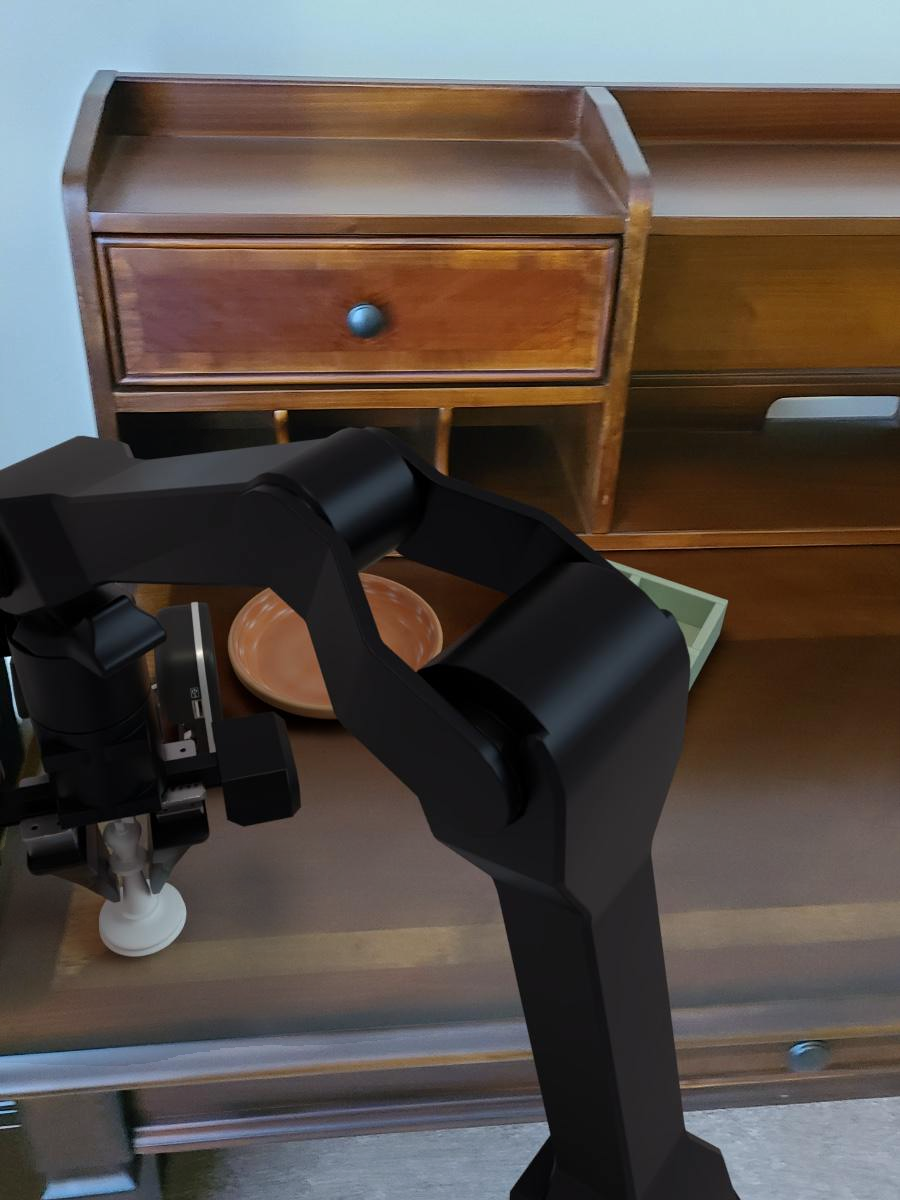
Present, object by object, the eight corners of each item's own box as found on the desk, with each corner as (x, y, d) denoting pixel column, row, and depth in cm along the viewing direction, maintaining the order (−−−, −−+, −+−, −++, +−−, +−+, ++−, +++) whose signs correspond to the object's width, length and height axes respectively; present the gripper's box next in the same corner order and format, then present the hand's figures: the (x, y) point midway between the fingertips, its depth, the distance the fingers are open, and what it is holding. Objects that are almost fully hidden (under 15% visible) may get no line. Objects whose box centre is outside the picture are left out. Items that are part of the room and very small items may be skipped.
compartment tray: (621, 817, 71) (629, 781, 69) (427, 734, 76) (428, 698, 74) (719, 634, 86) (728, 600, 84) (552, 576, 91) (556, 542, 89)
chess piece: (176, 958, 60) (152, 845, 54) (89, 955, 60) (55, 841, 54) (194, 886, 64) (173, 772, 58) (111, 883, 64) (82, 769, 58)
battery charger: (168, 721, 76) (146, 596, 69) (223, 713, 77) (206, 589, 70) (173, 795, 71) (150, 667, 64) (231, 786, 72) (215, 659, 64)
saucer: (298, 577, 90) (296, 548, 88) (473, 631, 85) (475, 602, 83) (188, 696, 78) (183, 665, 76) (384, 767, 74) (384, 736, 72)
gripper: (259, 565, 59) (277, 759, 69) (-106, 617, 55) (-32, 816, 64) (294, 701, 51) (309, 899, 61) (-132, 775, 46) (-43, 977, 56)
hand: (136, 891), depth 61 cm, fingers closed on chess piece
